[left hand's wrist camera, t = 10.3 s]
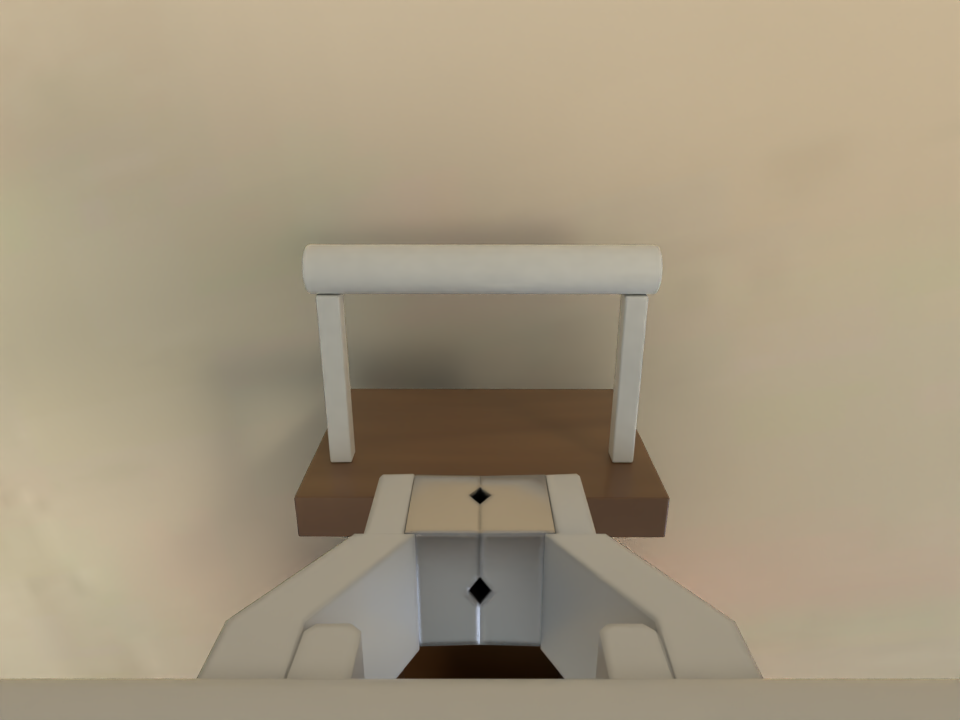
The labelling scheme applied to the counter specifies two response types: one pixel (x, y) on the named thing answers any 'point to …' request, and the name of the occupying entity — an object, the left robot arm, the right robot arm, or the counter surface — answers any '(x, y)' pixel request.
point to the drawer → (482, 407)
